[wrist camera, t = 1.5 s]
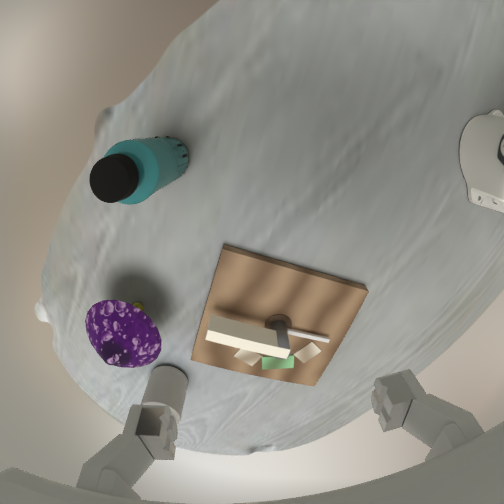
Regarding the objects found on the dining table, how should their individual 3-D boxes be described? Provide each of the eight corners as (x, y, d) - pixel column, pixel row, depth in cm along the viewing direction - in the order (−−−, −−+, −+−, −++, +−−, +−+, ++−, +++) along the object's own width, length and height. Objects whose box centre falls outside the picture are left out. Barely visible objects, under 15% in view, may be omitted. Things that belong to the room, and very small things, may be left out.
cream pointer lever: (331, 331, 49) (340, 357, 42) (324, 343, 50) (333, 369, 43) (213, 302, 46) (208, 327, 40) (209, 315, 47) (204, 341, 41)
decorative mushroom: (139, 343, 52) (113, 402, 38) (94, 294, 49) (54, 344, 35) (188, 315, 50) (170, 378, 36) (140, 258, 46) (102, 308, 32)
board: (364, 285, 48) (369, 292, 46) (312, 379, 56) (314, 387, 54) (223, 244, 45) (222, 249, 43) (192, 352, 53) (190, 361, 51)
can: (154, 358, 54) (138, 403, 43) (192, 369, 55) (182, 417, 44) (149, 382, 56) (135, 425, 45) (184, 392, 57) (175, 438, 46)
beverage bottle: (201, 155, 41) (161, 173, 22) (171, 190, 42) (115, 235, 24) (167, 126, 39) (104, 123, 20) (138, 161, 41) (63, 186, 22)
